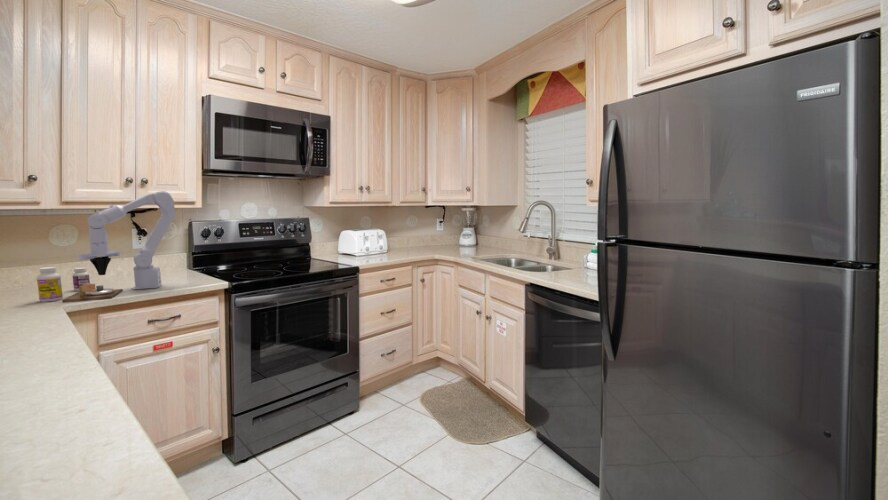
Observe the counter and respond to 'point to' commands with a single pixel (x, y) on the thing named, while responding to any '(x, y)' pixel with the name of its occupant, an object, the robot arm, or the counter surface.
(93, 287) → the pot lid
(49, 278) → the supplement bottle
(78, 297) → the brown piece
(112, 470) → the counter surface
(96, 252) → the robot arm
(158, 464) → the counter surface
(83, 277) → the pill bottle
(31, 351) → the counter surface
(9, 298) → the counter surface
